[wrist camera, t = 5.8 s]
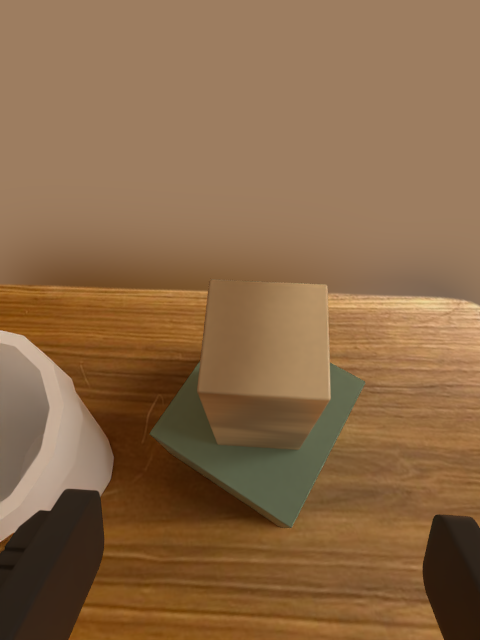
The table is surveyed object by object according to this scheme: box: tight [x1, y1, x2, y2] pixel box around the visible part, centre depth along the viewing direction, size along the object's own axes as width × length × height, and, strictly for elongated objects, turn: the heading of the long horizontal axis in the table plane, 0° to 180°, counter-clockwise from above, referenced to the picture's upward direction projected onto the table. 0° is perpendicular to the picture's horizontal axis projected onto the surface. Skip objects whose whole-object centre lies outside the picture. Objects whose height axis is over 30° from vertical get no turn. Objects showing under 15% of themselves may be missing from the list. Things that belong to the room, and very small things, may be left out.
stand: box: [150, 362, 365, 528], centre depth 27 cm, size 9×9×7 cm
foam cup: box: [0, 330, 114, 542], centre depth 24 cm, size 10×9×13 cm
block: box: [197, 279, 331, 450], centre depth 20 cm, size 4×4×10 cm
